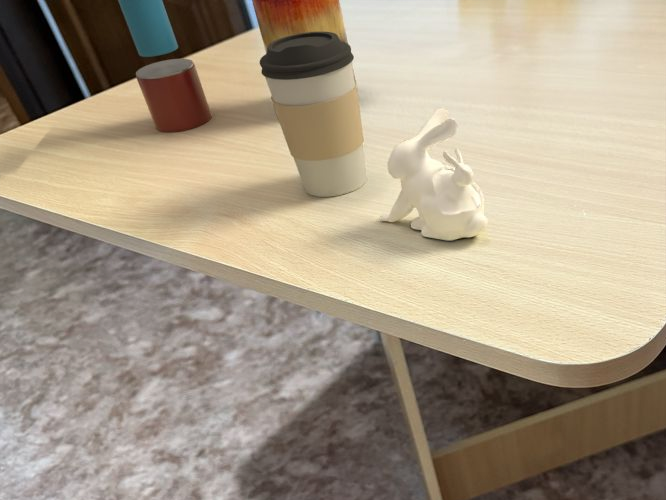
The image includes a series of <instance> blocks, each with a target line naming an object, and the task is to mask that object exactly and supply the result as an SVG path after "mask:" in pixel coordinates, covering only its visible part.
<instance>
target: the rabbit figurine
mask: <svg viewBox="0 0 666 500" xmlns="http://www.w3.org/2000/svg"><path fill="white" fill-rule="evenodd" d="M449 115H450V114H449V111H448V110H447V108H444V107H439V108H437V109H435V110H434V111H433V112H432V113H431V115H430V116H429V118H428V119H427V120H426V122H425V123H424V124H423V126H422V127H421V128H420V129H419V131H418V133H417V134H416V135H415V136H413V137H412V138H410V139H407V140H403V141H401V142H399V143H397V145H395V146H394V148H393V149H392V150H391V153H390V155H389V157H388V160H387V164H386V165H387V167H386V168H387V172H388V173H389V175H390V176H391V177H392V178H393V179H397V180H400V183H401V189H400V192H399V194H398V196H397V197H396V199H395V202H394V204H393V205H392V207H391V209H390V212H389V213H383V214H382V215H379V217H378V218H377V220H378V221H379V222H389V223H395V222H397V221H400V220H403V219H404V218H406V217H407V216H409V214H411V213H412V212H413V210H414V208H415V209H416V210H417V212H418V217H416V218H415V217H414V219H412V221H411V223H410V228H412V229H413V230H418V231H421V235H422V236H423V237H424V238H432V239H437V240H442V241H455V240H458V239H459V240H460V239H462V238H472V237H473V238H474V237H477V236H478V235H480V234H483V232H485V230H486V229H487V227H488V223H489V222H488V221H489V220H488V217H487V216H485V215H484V213H485V195H484V193H483V191H482V190H481V188H480V187H479V185H478V184H477V183H476V182H475V181H474V172H473V170H472V168H471V167H470V166H469V165H467V164H466V163H464V160H463V156H462V153H461V151H460V149H459V148H455V149H454V154H455V157H456V158H454V157H453V156H452V155H451V154H449V153H448V152H447V151H446V150H443V152H442V158H443V159H444V160H445V162H447V163H448V164H450V165H446V164H443V163H441V161H439V160H437V159H433V158H431V157H430V156H431V155H430V154H429V153H428V151H427V150H429V149H431V148H432V147H434V146H436V145H438V144H442V143H444V142H446V141H447V140H449V139H451V138H452V137H454V136H455V135H456V134H457V131H458V130H459V124H458V122H457V121H456V119H455V118H453V117H450V118H449Z"/></svg>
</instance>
